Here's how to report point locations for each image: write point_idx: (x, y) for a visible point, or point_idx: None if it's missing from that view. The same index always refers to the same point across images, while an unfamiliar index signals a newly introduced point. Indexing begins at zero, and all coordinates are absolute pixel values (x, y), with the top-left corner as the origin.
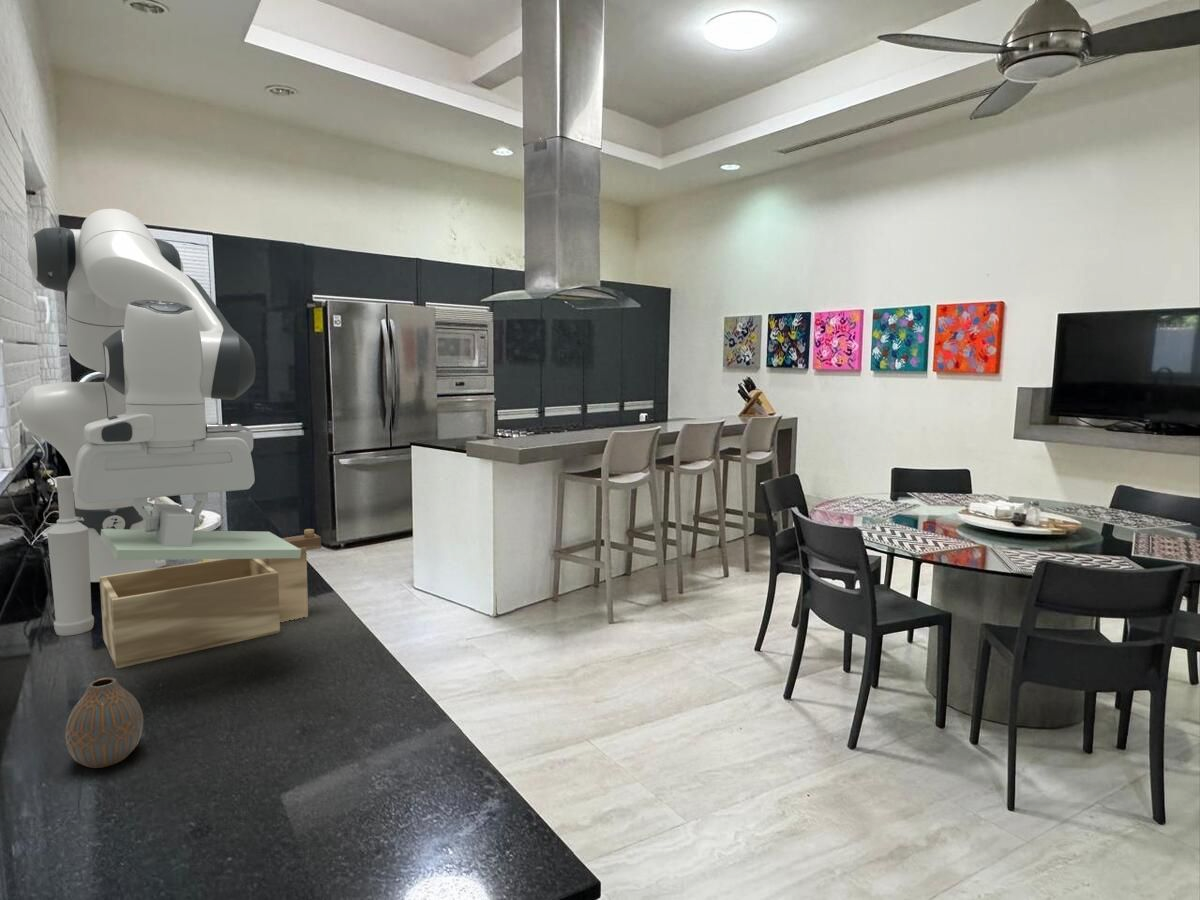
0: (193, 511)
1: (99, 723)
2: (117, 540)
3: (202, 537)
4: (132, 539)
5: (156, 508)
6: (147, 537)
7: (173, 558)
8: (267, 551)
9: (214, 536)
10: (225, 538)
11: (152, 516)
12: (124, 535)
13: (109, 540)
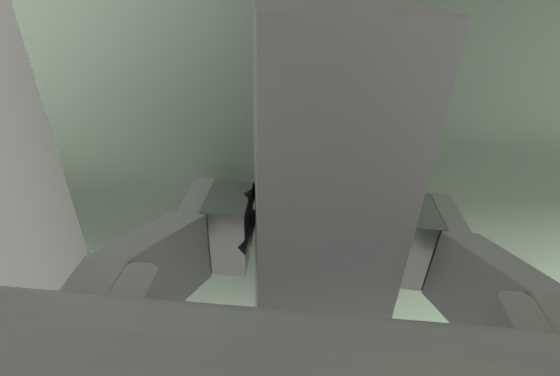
0: (439, 272)
1: None
2: (104, 216)
3: (458, 132)
4: (159, 194)
5: (256, 163)
6: (222, 146)
7: None
8: None
9: (526, 102)
10: (544, 148)
11: (224, 221)
12: (123, 97)
13: (74, 199)
